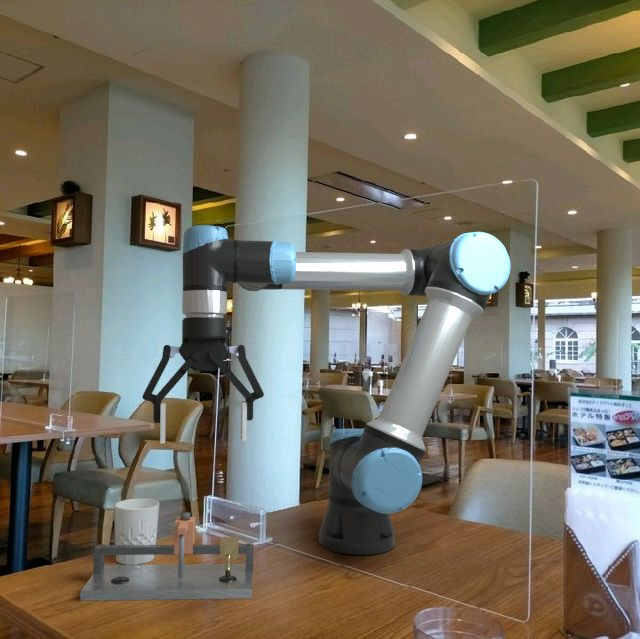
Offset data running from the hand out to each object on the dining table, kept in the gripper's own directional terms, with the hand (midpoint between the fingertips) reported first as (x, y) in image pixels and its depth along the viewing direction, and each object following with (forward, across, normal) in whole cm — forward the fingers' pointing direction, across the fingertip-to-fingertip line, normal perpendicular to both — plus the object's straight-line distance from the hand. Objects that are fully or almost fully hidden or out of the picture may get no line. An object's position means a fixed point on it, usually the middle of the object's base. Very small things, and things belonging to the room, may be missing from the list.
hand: (203, 441), depth 107 cm
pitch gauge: (+23, +5, +3) cm, 24 cm away
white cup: (+23, +12, -11) cm, 28 cm away
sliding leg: (+21, +3, +2) cm, 21 cm away
